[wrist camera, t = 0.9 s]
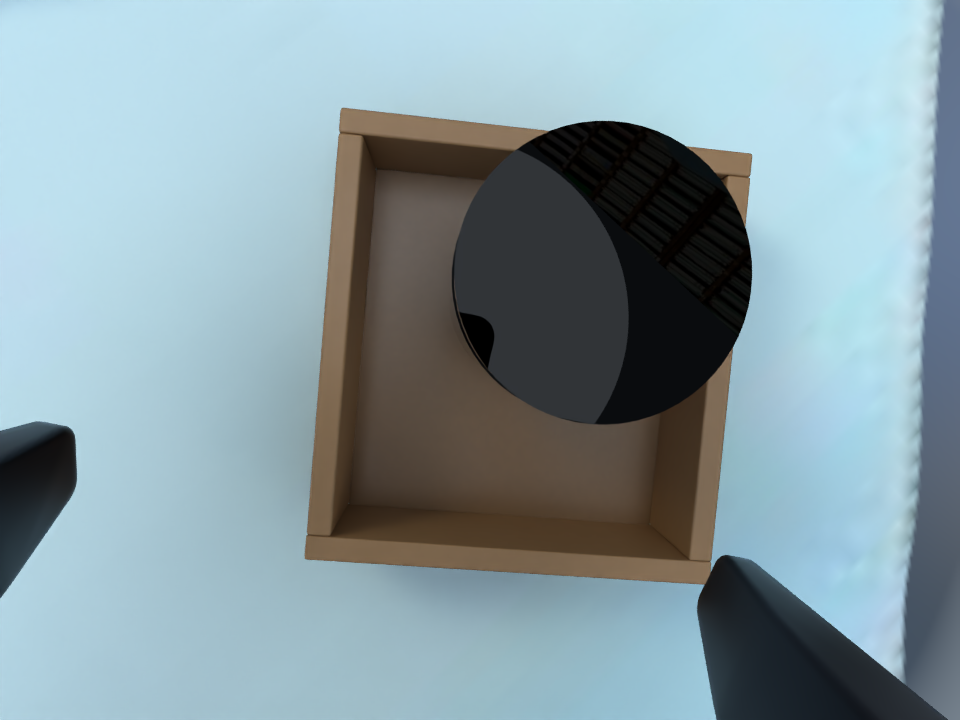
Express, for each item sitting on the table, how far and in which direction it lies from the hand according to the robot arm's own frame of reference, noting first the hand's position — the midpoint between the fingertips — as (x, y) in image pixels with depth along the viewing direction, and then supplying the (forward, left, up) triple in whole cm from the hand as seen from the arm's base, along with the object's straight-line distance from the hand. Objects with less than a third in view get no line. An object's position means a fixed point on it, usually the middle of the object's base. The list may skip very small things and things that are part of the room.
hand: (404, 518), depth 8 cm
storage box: (+2, -3, -15) cm, 16 cm away
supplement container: (+4, -4, -16) cm, 17 cm away
